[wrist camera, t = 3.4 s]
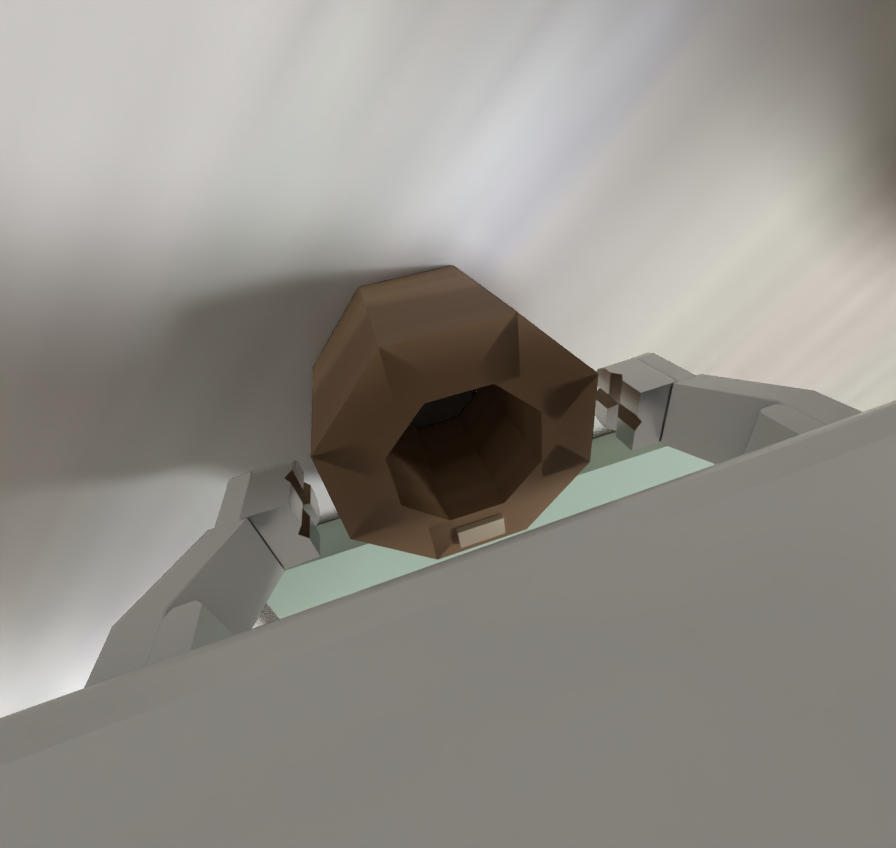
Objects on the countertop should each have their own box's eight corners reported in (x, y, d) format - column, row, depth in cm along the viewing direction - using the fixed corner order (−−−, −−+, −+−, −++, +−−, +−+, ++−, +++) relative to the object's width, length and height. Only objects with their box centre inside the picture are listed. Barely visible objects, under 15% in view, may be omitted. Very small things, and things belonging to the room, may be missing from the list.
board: (255, 544, 13) (210, 823, 8) (704, 403, 16) (920, 535, 10) (398, 742, 26) (420, 899, 20) (632, 648, 28) (708, 765, 23)
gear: (287, 302, 9) (270, 378, 6) (515, 250, 10) (611, 291, 7) (357, 479, 13) (371, 587, 10) (523, 429, 14) (589, 513, 10)
